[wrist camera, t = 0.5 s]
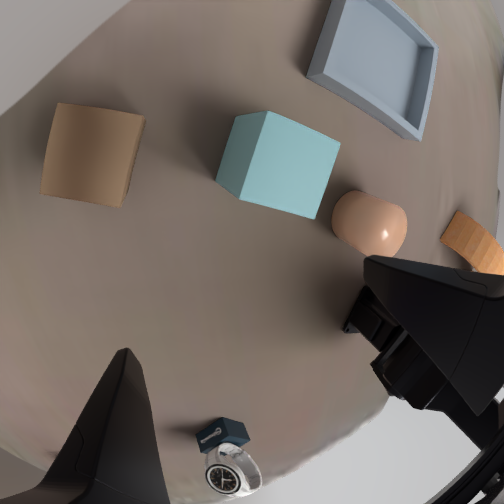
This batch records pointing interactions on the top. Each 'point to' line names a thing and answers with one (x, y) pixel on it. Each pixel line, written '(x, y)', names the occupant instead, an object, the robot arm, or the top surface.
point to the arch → (474, 244)
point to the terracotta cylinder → (369, 224)
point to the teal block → (277, 163)
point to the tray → (377, 63)
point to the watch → (219, 468)
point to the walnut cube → (91, 154)
